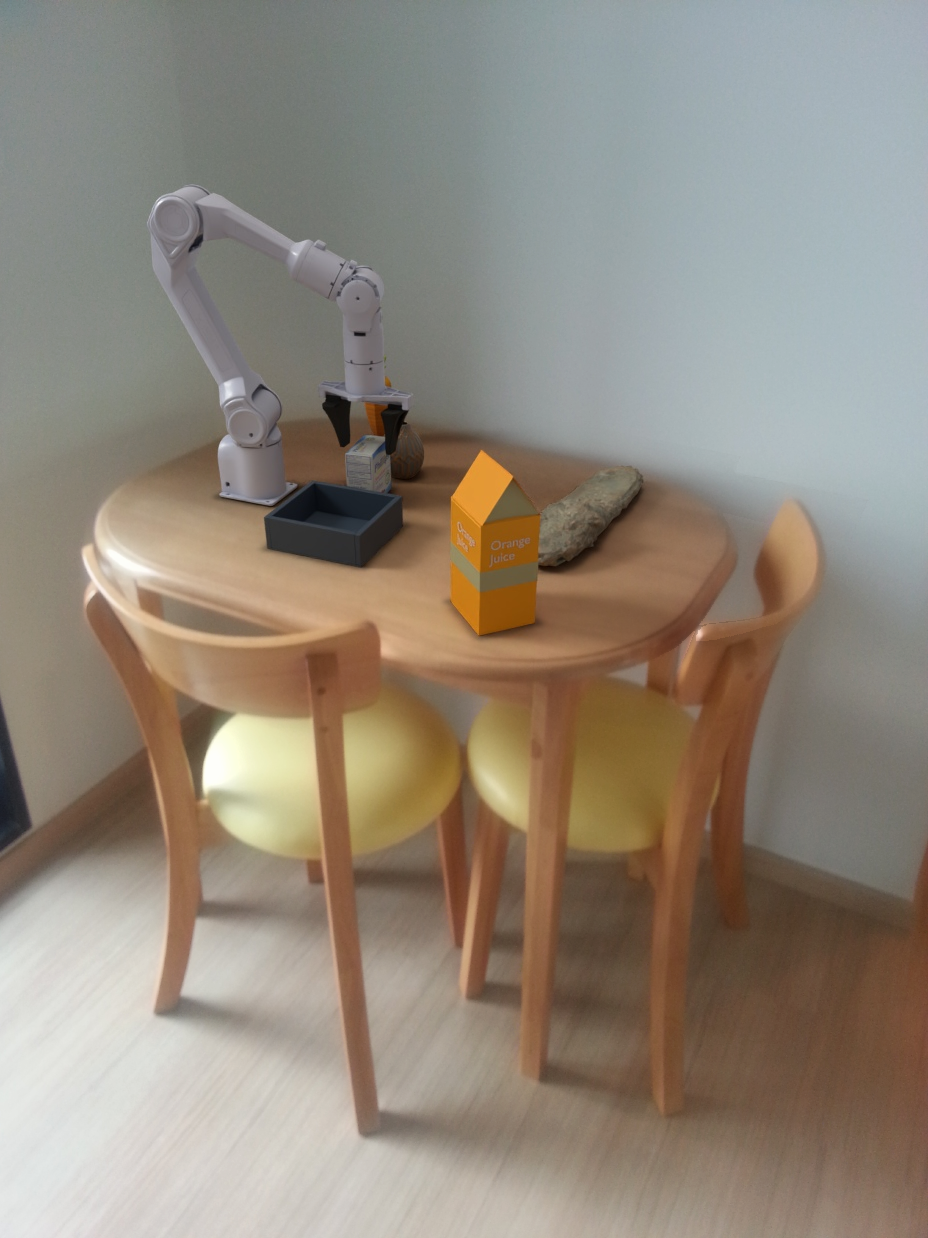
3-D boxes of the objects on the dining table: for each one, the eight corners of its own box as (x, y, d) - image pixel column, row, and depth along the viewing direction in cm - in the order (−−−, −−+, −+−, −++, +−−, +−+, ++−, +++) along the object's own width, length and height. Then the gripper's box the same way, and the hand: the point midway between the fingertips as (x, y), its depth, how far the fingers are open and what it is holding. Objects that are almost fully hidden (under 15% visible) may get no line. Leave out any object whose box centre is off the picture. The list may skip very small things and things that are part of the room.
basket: (266, 548, 134) (263, 517, 131) (314, 509, 145) (312, 479, 142) (361, 567, 129) (359, 535, 127) (403, 526, 140) (402, 495, 138)
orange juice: (478, 636, 115) (481, 481, 105) (449, 601, 122) (449, 452, 111) (536, 622, 118) (545, 470, 107) (505, 589, 125) (510, 443, 114)
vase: (432, 472, 157) (432, 420, 152) (408, 486, 152) (406, 433, 147) (398, 463, 160) (396, 412, 156) (373, 476, 155) (370, 424, 151)
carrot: (361, 444, 167) (357, 358, 159) (369, 434, 171) (365, 350, 163) (389, 446, 166) (387, 360, 158) (396, 436, 170) (393, 352, 163)
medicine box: (375, 509, 145) (373, 455, 140) (347, 506, 146) (344, 452, 141) (392, 488, 151) (390, 436, 147) (365, 485, 152) (362, 433, 148)
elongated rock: (657, 495, 153) (598, 485, 158) (660, 463, 151) (600, 454, 155) (570, 577, 126) (502, 563, 130) (572, 540, 124) (503, 527, 128)
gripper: (305, 360, 136) (312, 450, 143) (398, 372, 132) (400, 465, 139) (329, 347, 142) (334, 434, 149) (419, 359, 137) (420, 448, 145)
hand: (367, 448), depth 144 cm, fingers open, 7 cm apart
